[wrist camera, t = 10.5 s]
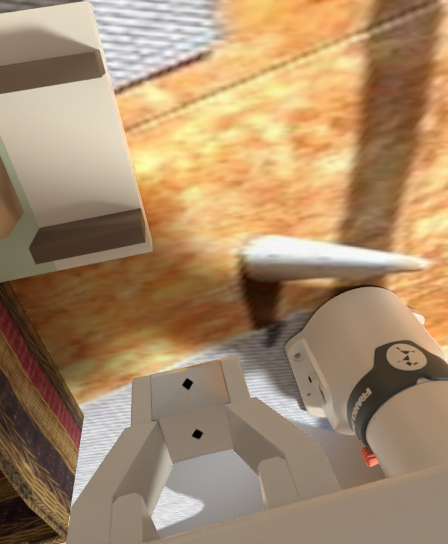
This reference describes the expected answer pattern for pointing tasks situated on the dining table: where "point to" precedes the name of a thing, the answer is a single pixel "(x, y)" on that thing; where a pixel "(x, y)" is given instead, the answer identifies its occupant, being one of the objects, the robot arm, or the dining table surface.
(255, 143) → the dining table surface
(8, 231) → the tan square block
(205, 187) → the dining table surface
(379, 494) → the robot arm
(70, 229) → the dark brown bars
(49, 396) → the basket
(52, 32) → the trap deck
